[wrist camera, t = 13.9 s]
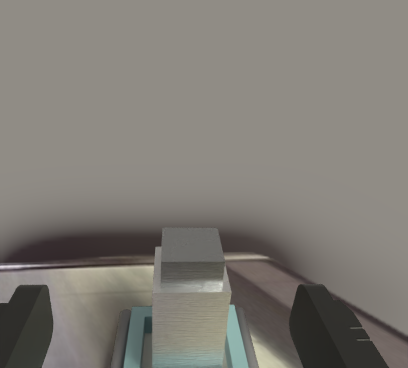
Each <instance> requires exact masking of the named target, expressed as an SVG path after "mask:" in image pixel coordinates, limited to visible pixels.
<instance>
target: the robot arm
mask: <svg viewBox="0 0 408 368" xmlns="http://www.w3.org/2000/svg"><path fill="white" fill-rule="evenodd" d="M289 327H290V333H291V337H292V340H293V342H294V345H295V347H296V350H297V352H298V355H299V357H300V360H301V362H302V365H303V367H304V368H389V367H388V366H387V364H386V362H385V361H384V359H383V358H382V356H381V355H380V353H379V352H378V350H377V348H376V347H375V345H374V344H373V342H372V341H370V338H369V336H368V334H367V333H366V331H365V330H364V329H362V325H361V324H360V322H359V320H358V319H357V317H356V316H355V314H354V313H353V312H352V311H351V310H350V309H349V308H348V307H347V306H346V305H344V304H343V303H342V302H341V301H340V300H333V299H332V297H331V295H330V294H329V292H328V290H327V289H326V287H325V286H324V285H322V284H300V285H299V286H298V288H297V292H296V295H295V299H294V303H293V307H292V311H291V315H290V320H289ZM52 333H53V316H52V309H51V302H50V295H49V289H48V286H47V285H19V286H18V287H17V289H16V290H15V292H14V294H13V296H12V297H11V299H10V301H9V303H0V368H41V367H42V364H43V362H44V359H45V356H46V353H47V350H48V348H49V345H50V342H51V338H52Z"/></svg>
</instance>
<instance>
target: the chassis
mask: <svg viewBox="0 0 408 368" xmlns="http://www.w3.org/2000/svg"><path fill="white" fill-rule="evenodd" d="M110 368H152V306H146V307H132V311H130V310H123V311H121V312H120V317H119V322H118V328H117V333H116V339H115V344H114V350H113V355H112V361H111V366H110ZM222 368H259V366H258V362H257V358H256V355H255V351H254V347H253V343H252V339H251V336H250V332H249V328H248V324H247V320H246V317H245V313H244V310H243V309H242V308H240V307H237V308H235V307H234V305H230V306H229V314H228V323H227V331H226V340H225V348H224V356H223V365H222Z"/></svg>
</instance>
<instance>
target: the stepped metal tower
mask: <svg viewBox="0 0 408 368" xmlns="http://www.w3.org/2000/svg"><path fill="white" fill-rule="evenodd" d="M230 298H231V289H230V285H229V280H228V276H227V272H226V267H225V259H224V255H223V251H222V246H221V242H220V238H219V233H218V229H217V228H163V229H162V247H156V251H155V264H154V277H153V290H152V368H222V365H223V356H224V348H225V340H226V331H227V323H228V314H229V306H230Z"/></svg>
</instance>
